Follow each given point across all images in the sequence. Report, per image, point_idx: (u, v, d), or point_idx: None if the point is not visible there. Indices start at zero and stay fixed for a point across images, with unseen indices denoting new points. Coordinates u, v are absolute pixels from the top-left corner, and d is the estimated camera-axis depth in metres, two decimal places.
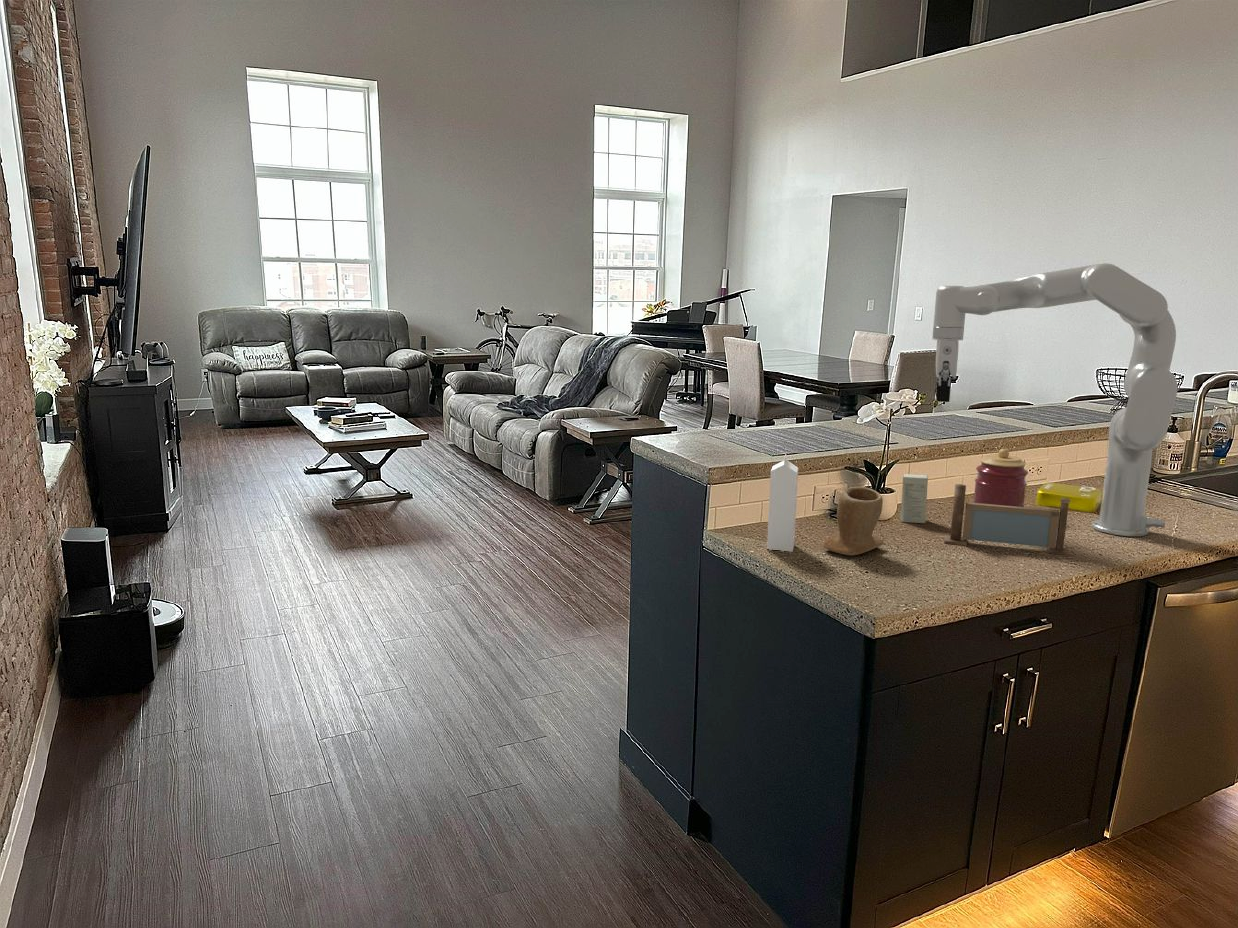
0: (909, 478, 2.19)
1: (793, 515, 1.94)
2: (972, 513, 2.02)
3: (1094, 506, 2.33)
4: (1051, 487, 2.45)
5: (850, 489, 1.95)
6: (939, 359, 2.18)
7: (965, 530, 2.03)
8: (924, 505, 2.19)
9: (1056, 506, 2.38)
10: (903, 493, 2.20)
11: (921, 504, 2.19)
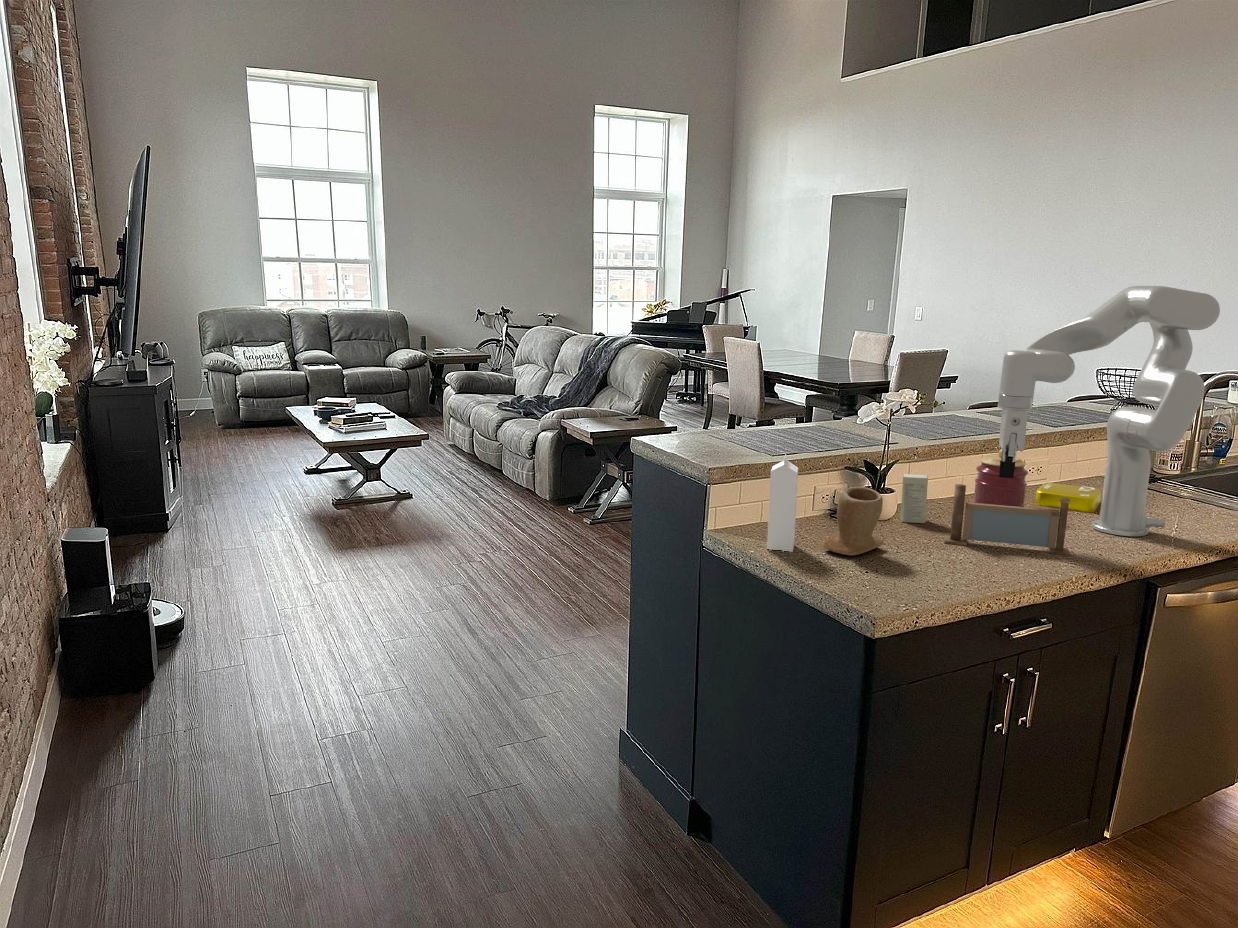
0: (909, 478, 2.19)
1: (793, 515, 1.94)
2: (972, 513, 2.02)
3: (1093, 506, 2.33)
4: (1050, 487, 2.45)
5: (850, 489, 1.95)
6: (1005, 431, 2.00)
7: (965, 530, 2.03)
8: (924, 505, 2.19)
9: (1055, 506, 2.38)
10: (903, 493, 2.20)
11: (921, 504, 2.19)
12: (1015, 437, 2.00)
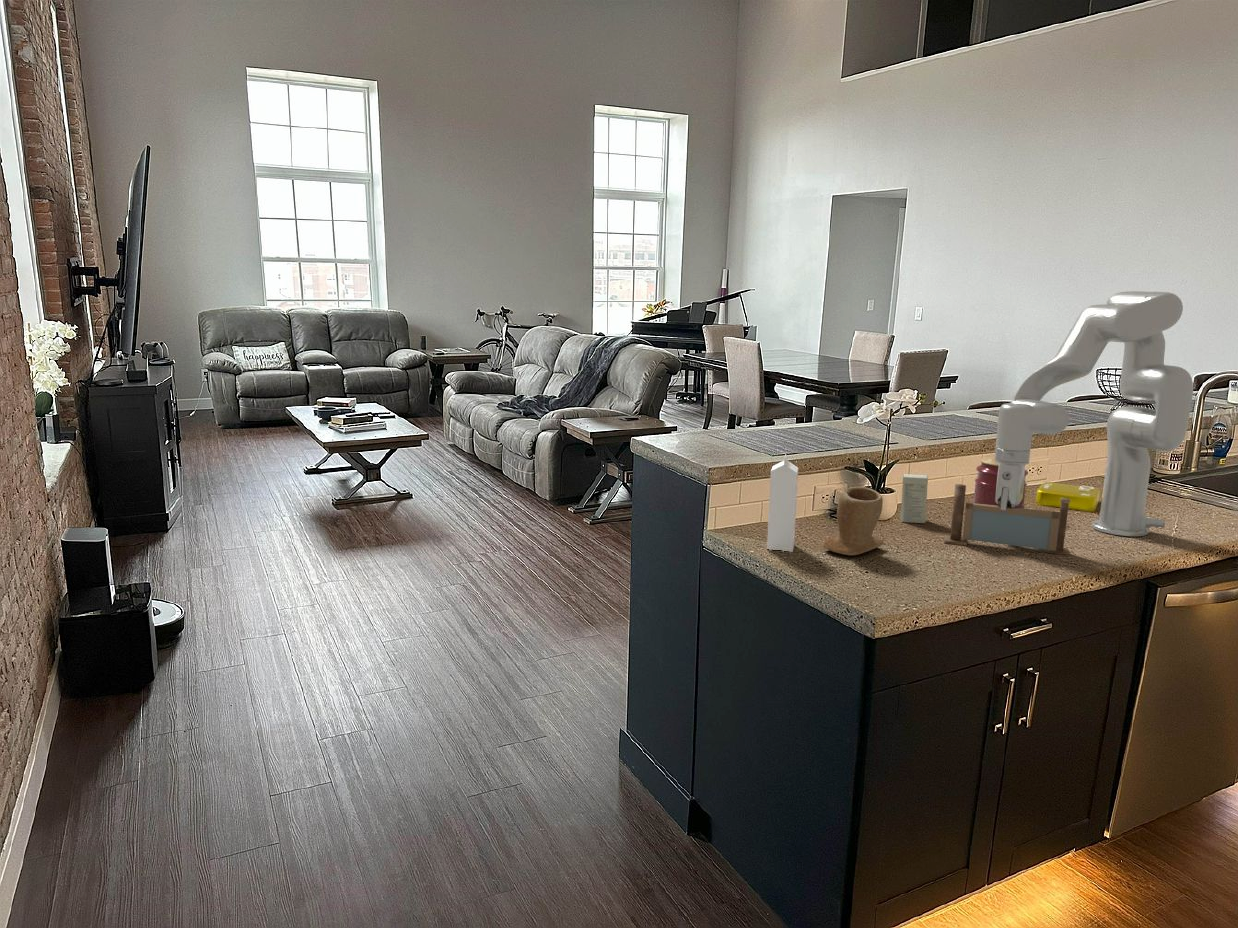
0: (909, 478, 2.19)
1: (793, 515, 1.94)
2: (972, 513, 2.02)
3: (1094, 505, 2.34)
4: (1050, 486, 2.45)
5: (850, 489, 1.95)
6: (997, 484, 1.98)
7: (965, 530, 2.03)
8: (924, 505, 2.19)
9: (1056, 505, 2.38)
10: (903, 493, 2.20)
11: (921, 504, 2.19)
12: (1008, 491, 1.98)
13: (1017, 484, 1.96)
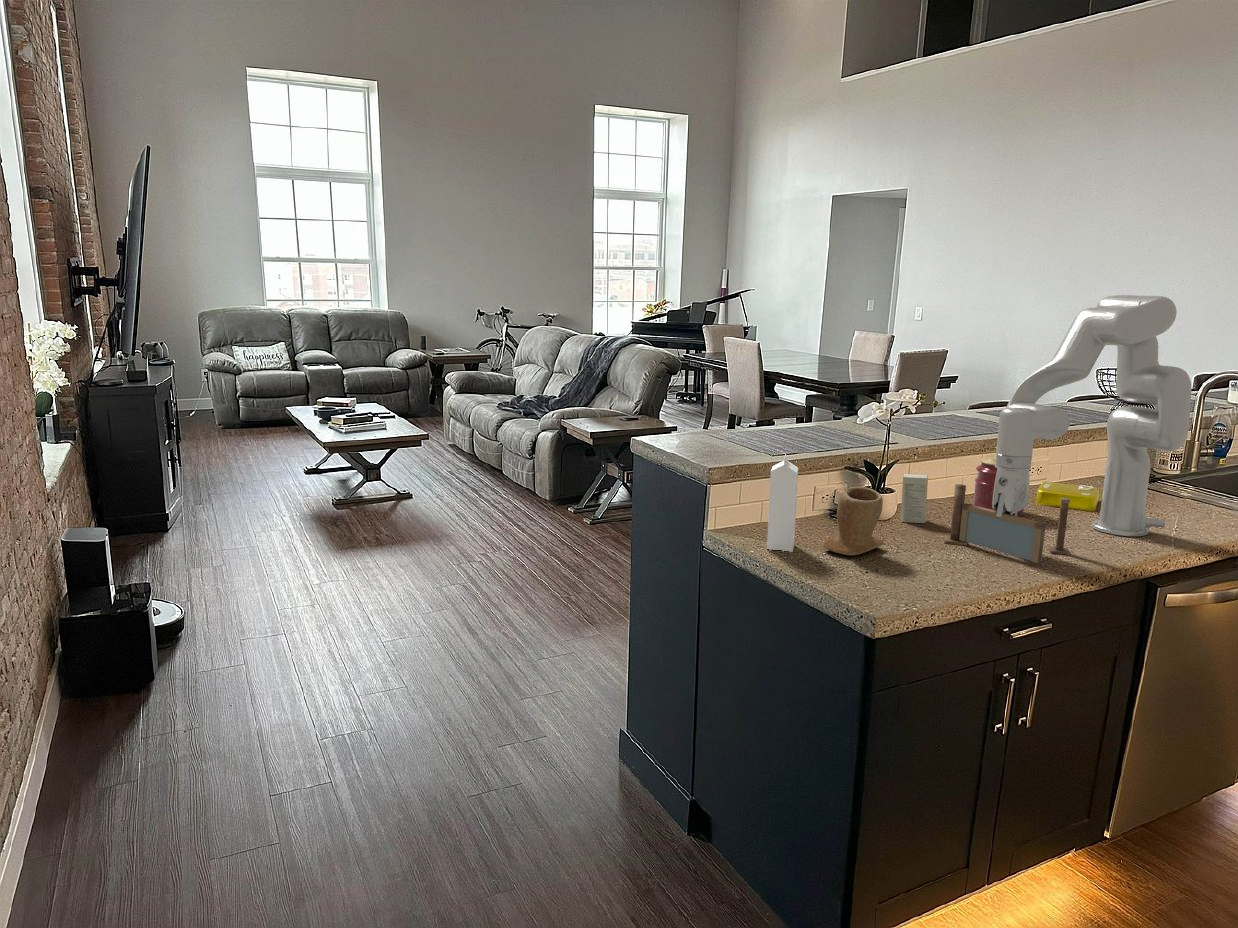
0: (909, 478, 2.19)
1: (793, 515, 1.94)
2: (967, 514, 2.00)
3: (1095, 505, 2.35)
4: (1050, 486, 2.46)
5: (850, 489, 1.95)
6: (994, 490, 1.93)
7: (961, 531, 2.02)
8: (924, 505, 2.19)
9: (1057, 505, 2.39)
10: (903, 493, 2.20)
11: (921, 504, 2.19)
12: (1004, 498, 1.92)
13: (1013, 491, 1.91)
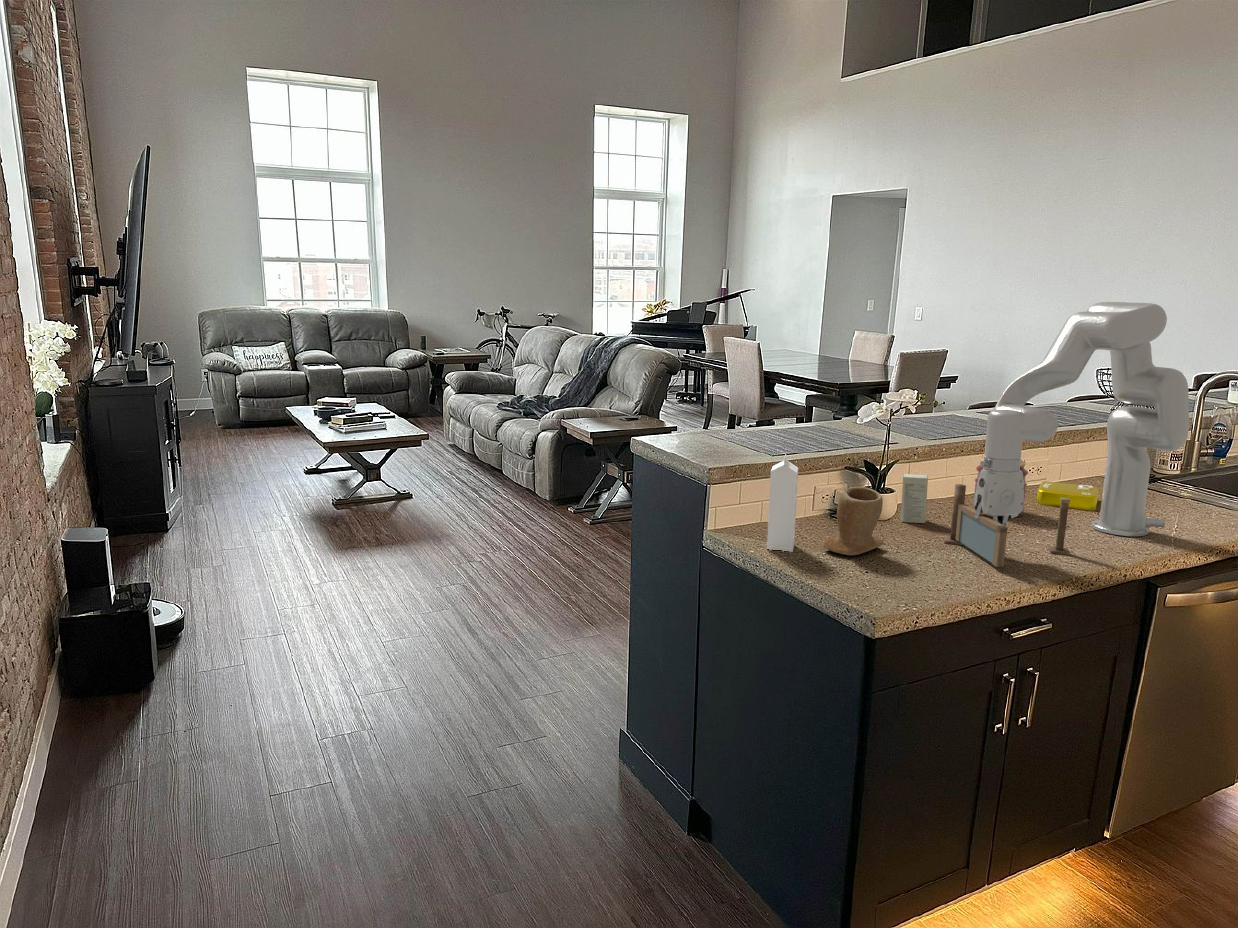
0: (909, 478, 2.19)
1: (793, 515, 1.94)
2: (961, 515, 2.00)
3: (1095, 504, 2.35)
4: (1050, 486, 2.46)
5: (850, 489, 1.95)
6: None
7: (956, 531, 2.02)
8: (924, 505, 2.19)
9: (1058, 505, 2.39)
10: (903, 493, 2.20)
11: (921, 504, 2.19)
12: None
13: (988, 493, 1.89)
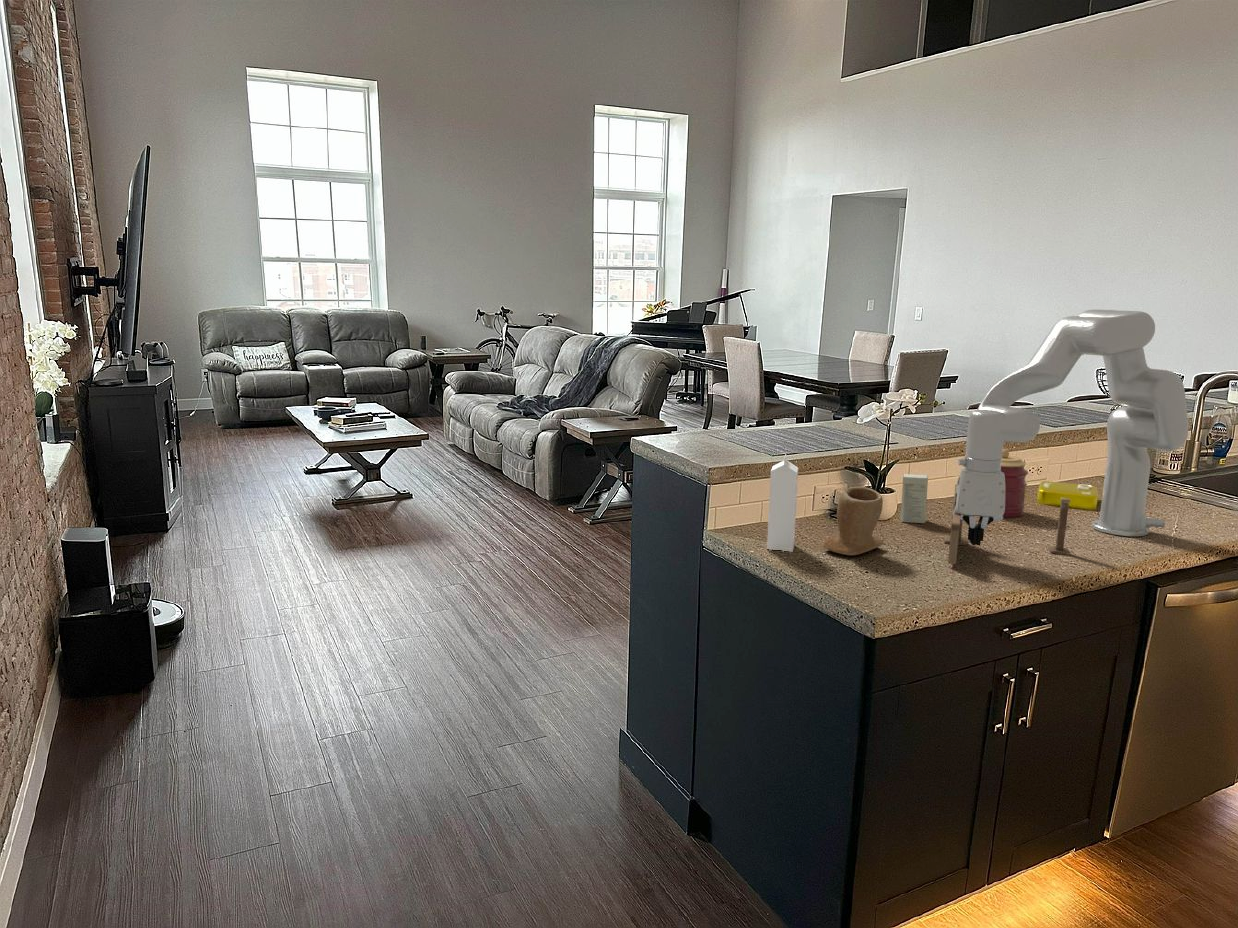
0: (909, 478, 2.19)
1: (793, 515, 1.94)
2: None
3: (1096, 503, 2.36)
4: (1049, 485, 2.47)
5: (850, 489, 1.95)
6: None
7: None
8: (924, 505, 2.19)
9: (1058, 504, 2.39)
10: (903, 493, 2.20)
11: (921, 504, 2.19)
12: None
13: (961, 491, 1.89)
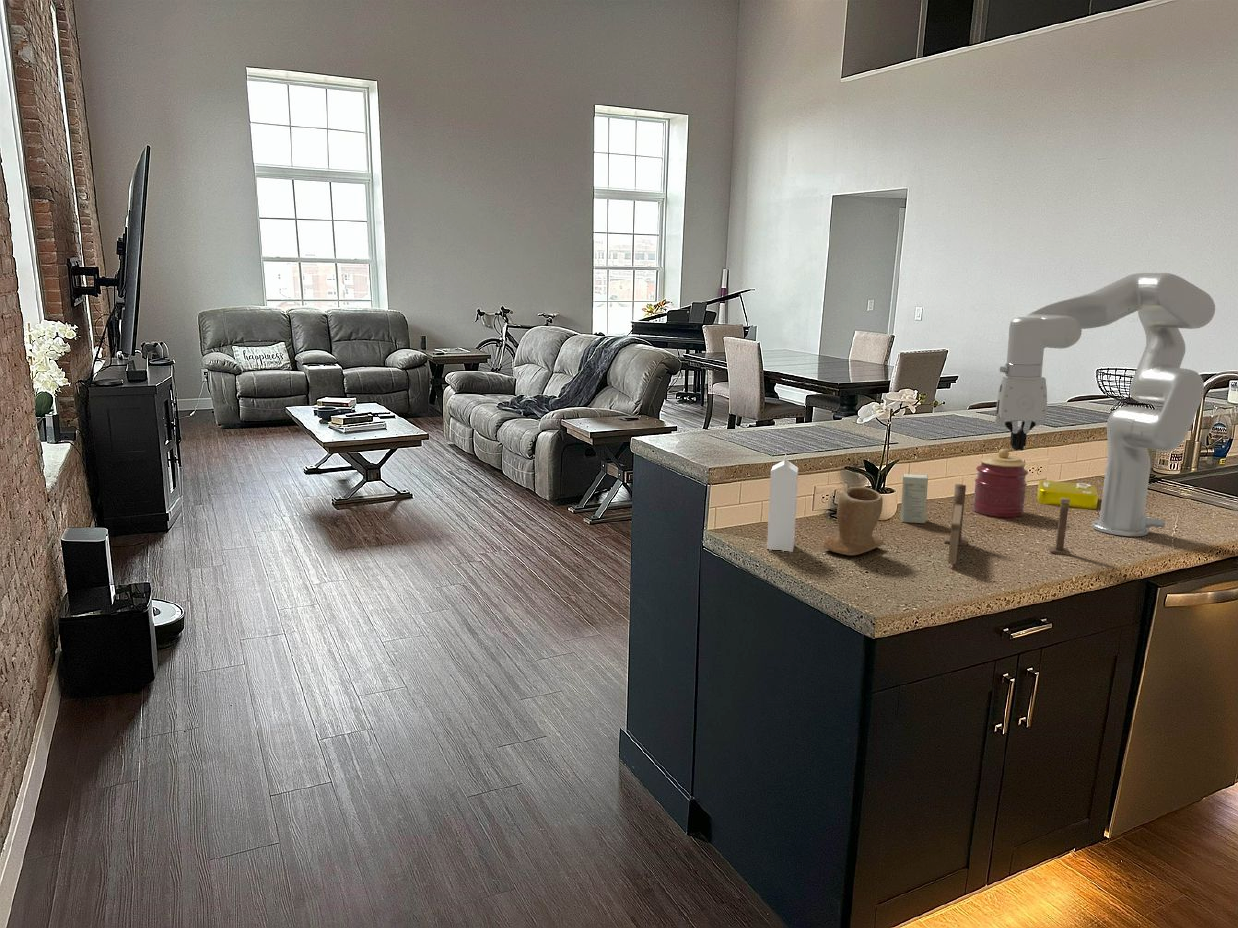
0: (909, 478, 2.19)
1: (793, 515, 1.94)
2: None
3: (1096, 503, 2.37)
4: (1049, 485, 2.47)
5: (850, 489, 1.95)
6: None
7: None
8: (924, 505, 2.19)
9: (1059, 504, 2.40)
10: (903, 493, 2.20)
11: (921, 504, 2.19)
12: None
13: (1004, 397, 1.95)
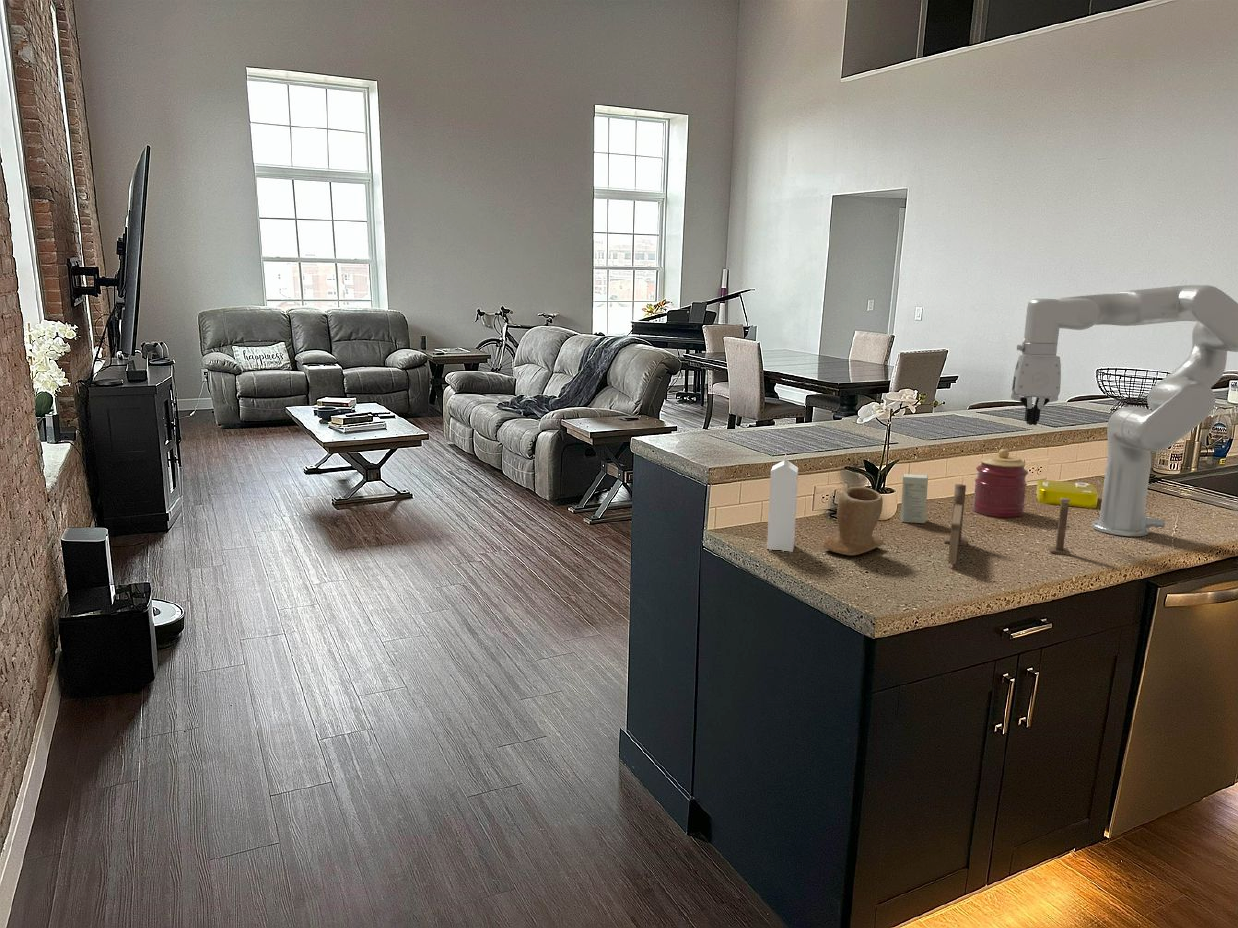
0: (909, 478, 2.19)
1: (793, 515, 1.94)
2: None
3: (1096, 501, 2.38)
4: (1048, 484, 2.48)
5: (850, 489, 1.95)
6: (1014, 374, 2.11)
7: None
8: (924, 505, 2.19)
9: (1060, 503, 2.41)
10: (903, 493, 2.20)
11: (921, 504, 2.19)
12: None
13: (1020, 374, 2.07)
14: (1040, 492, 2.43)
